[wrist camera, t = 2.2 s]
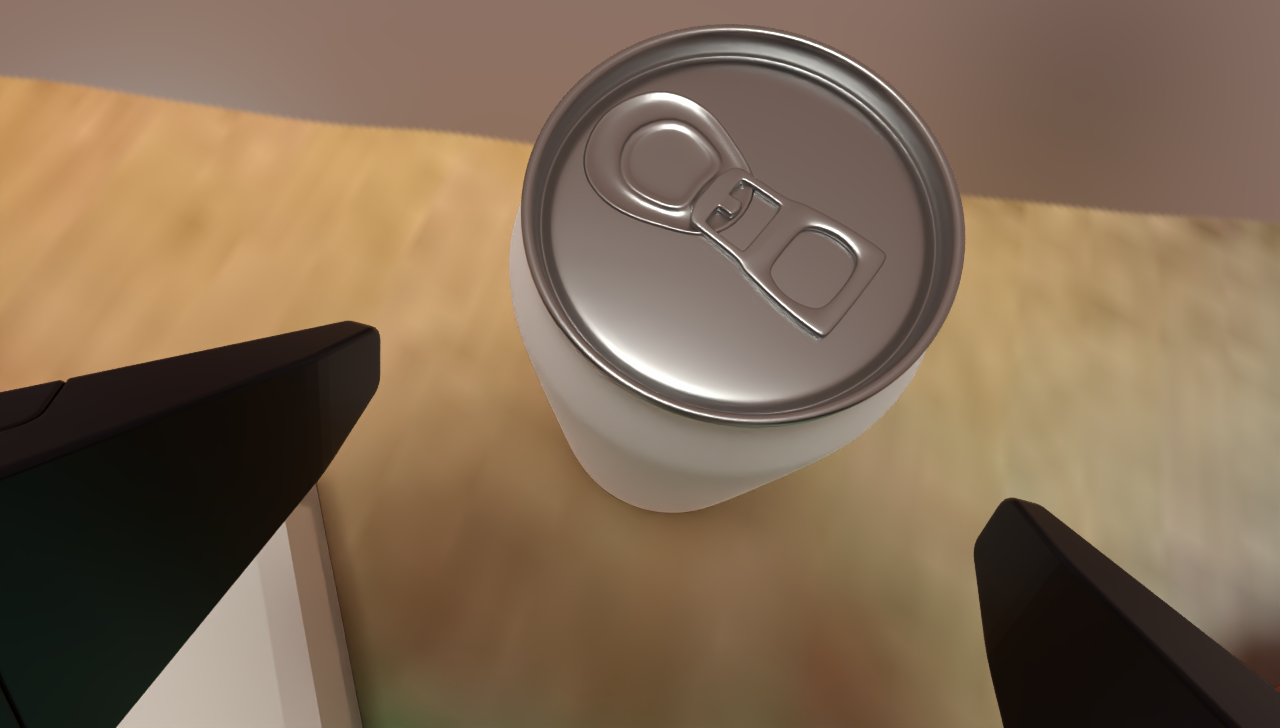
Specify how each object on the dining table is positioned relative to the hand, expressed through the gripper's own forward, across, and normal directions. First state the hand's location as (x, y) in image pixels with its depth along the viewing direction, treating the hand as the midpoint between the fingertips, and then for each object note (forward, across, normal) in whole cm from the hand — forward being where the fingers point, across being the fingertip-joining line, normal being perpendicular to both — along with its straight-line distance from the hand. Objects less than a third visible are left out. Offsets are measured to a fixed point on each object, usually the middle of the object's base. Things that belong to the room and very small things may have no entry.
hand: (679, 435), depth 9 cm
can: (+9, 0, +6) cm, 11 cm away
